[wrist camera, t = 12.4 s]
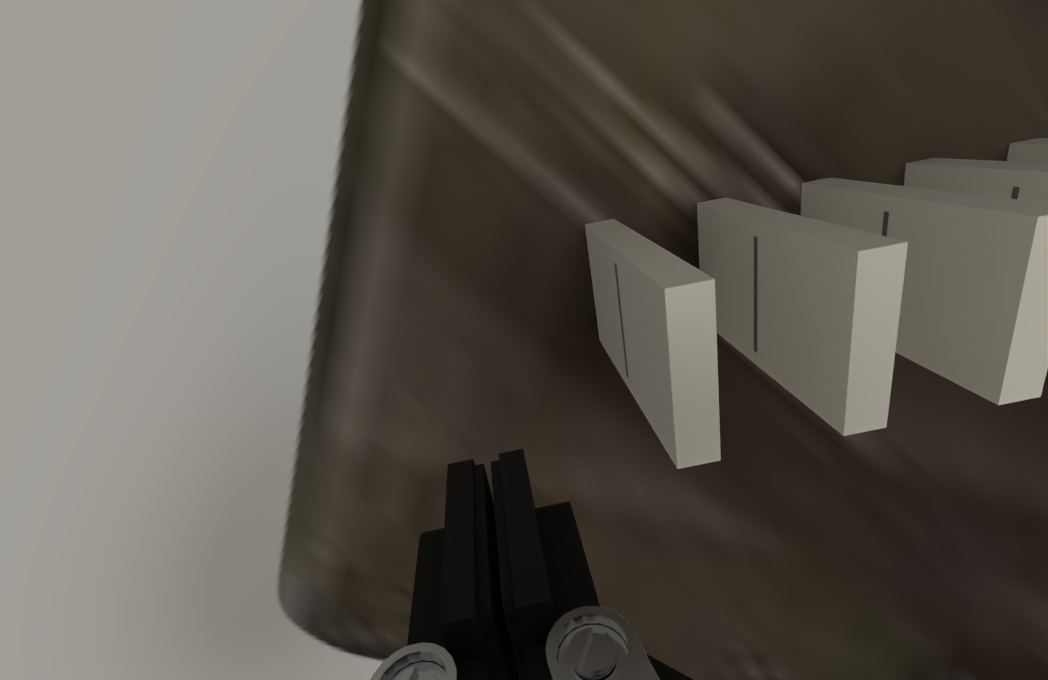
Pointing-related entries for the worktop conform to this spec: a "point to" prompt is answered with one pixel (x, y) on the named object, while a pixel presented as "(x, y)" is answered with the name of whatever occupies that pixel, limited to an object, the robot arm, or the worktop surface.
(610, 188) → the worktop surface
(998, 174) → the domino
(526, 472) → the robot arm
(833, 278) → the domino
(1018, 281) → the domino
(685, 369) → the domino
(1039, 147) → the domino
